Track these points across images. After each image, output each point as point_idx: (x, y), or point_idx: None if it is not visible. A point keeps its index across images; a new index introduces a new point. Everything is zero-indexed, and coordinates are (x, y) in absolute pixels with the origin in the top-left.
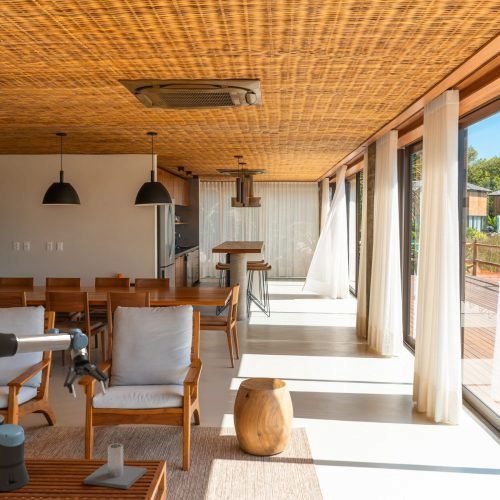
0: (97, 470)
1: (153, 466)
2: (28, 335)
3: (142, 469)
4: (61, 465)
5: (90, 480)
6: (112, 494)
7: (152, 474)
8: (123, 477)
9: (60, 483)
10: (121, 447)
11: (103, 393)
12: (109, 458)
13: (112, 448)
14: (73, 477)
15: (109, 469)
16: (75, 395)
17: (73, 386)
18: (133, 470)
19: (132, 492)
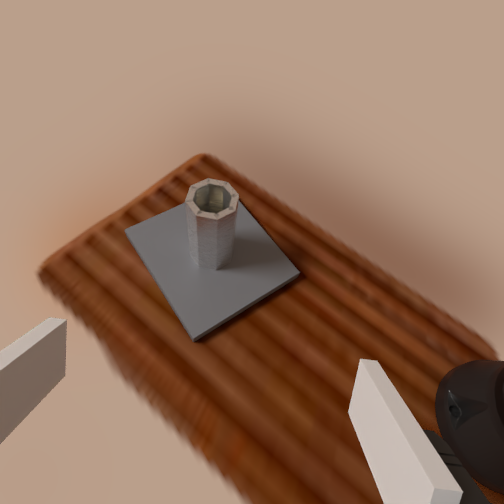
0: (241, 304)
1: (83, 254)
2: None
3: (138, 230)
4: (312, 471)
5: (285, 258)
6: (262, 193)
7: (125, 216)
8: None
9: (350, 321)
10: (201, 182)
11: (63, 341)
12: (236, 217)
13: (231, 188)
14: (307, 335)
15: (234, 237)
16: (369, 367)
17: (420, 457)
18: (161, 239)
19: (222, 176)
